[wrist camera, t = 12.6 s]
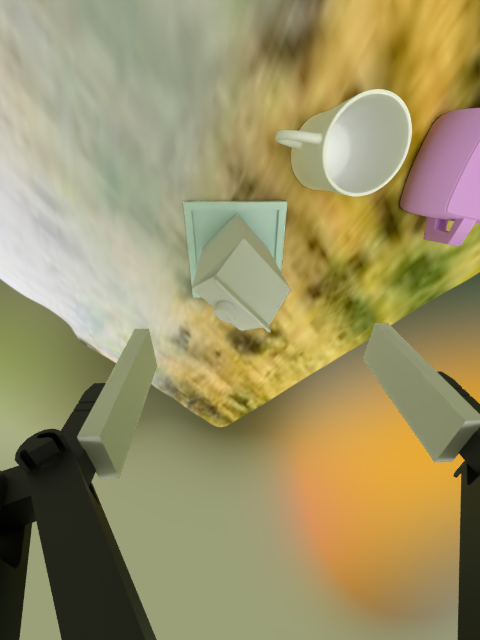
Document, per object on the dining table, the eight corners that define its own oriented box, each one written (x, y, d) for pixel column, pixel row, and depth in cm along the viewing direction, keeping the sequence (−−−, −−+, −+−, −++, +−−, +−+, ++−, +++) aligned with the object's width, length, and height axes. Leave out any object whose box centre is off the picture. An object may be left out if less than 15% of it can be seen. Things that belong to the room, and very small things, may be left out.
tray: (184, 200, 35) (182, 202, 34) (284, 200, 36) (287, 201, 34) (194, 292, 43) (192, 297, 41) (277, 291, 43) (278, 295, 42)
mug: (258, 172, 34) (273, 174, 24) (280, 90, 30) (310, 51, 20) (337, 197, 36) (381, 209, 26) (368, 125, 32) (435, 105, 22)
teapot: (448, 71, 30) (540, 31, 21) (524, 90, 31) (642, 59, 22) (382, 229, 39) (427, 247, 30) (443, 239, 40) (504, 259, 31)
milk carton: (236, 212, 36) (247, 250, 19) (268, 248, 39) (301, 308, 22) (202, 247, 38) (185, 307, 22) (235, 279, 41) (242, 354, 25)
